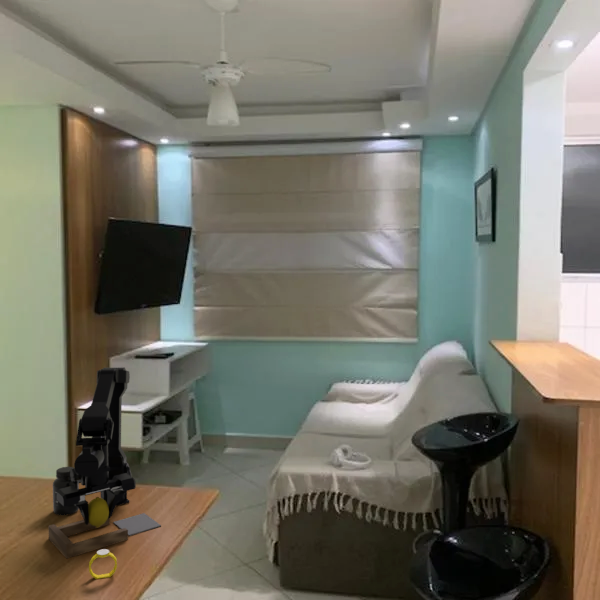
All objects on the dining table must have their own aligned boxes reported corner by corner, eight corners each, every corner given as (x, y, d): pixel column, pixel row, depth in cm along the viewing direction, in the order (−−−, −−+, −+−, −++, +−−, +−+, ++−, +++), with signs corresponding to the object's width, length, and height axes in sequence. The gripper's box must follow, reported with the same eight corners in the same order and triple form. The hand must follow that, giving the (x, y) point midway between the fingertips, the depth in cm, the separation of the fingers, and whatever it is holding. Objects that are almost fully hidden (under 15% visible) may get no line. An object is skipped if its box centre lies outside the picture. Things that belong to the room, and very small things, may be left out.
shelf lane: (107, 522, 167) (107, 509, 166) (127, 539, 157) (127, 526, 156) (48, 539, 157) (48, 525, 156) (66, 558, 147) (66, 544, 146)
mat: (144, 514, 172) (144, 513, 172) (160, 526, 164) (160, 525, 164) (113, 523, 166) (113, 521, 166) (129, 536, 158) (129, 535, 158)
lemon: (113, 524, 160) (113, 494, 159) (100, 533, 155) (99, 502, 154) (95, 521, 162) (95, 491, 161) (81, 530, 156) (81, 499, 156)
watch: (116, 573, 141) (117, 547, 141) (116, 579, 138) (118, 553, 138) (88, 575, 139) (89, 549, 139) (88, 581, 136) (89, 555, 136)
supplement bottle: (48, 511, 173) (47, 470, 172) (70, 503, 179) (69, 463, 178) (62, 518, 169) (61, 475, 168) (84, 509, 174) (83, 468, 174)
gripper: (118, 446, 169) (119, 501, 170) (48, 461, 157) (50, 520, 158) (136, 457, 160) (137, 515, 162) (63, 474, 148) (65, 536, 150)
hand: (97, 521), depth 158 cm, fingers closed on lemon, 5 cm apart
